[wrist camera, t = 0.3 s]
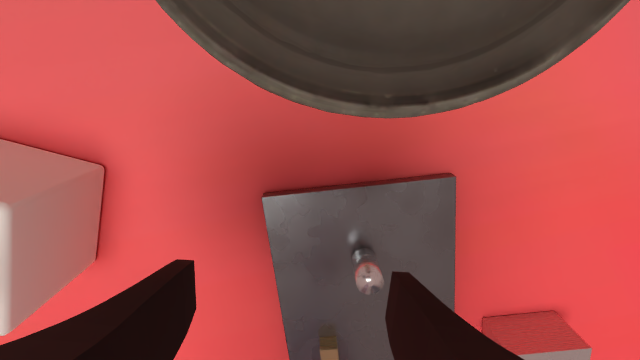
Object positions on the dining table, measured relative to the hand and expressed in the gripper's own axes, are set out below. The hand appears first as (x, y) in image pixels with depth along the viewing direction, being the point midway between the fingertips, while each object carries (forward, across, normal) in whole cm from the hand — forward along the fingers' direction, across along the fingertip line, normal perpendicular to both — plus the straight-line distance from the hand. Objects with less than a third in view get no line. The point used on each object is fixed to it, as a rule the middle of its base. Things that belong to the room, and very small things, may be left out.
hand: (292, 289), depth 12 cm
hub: (+10, -17, +11) cm, 22 cm away
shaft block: (+10, -5, +7) cm, 13 cm away
